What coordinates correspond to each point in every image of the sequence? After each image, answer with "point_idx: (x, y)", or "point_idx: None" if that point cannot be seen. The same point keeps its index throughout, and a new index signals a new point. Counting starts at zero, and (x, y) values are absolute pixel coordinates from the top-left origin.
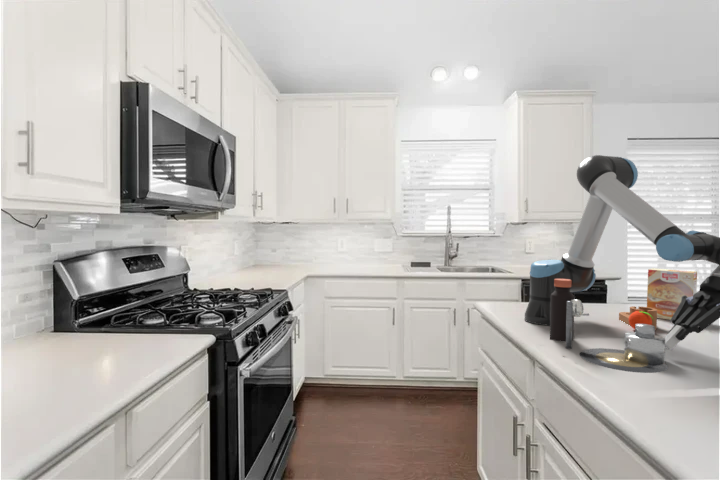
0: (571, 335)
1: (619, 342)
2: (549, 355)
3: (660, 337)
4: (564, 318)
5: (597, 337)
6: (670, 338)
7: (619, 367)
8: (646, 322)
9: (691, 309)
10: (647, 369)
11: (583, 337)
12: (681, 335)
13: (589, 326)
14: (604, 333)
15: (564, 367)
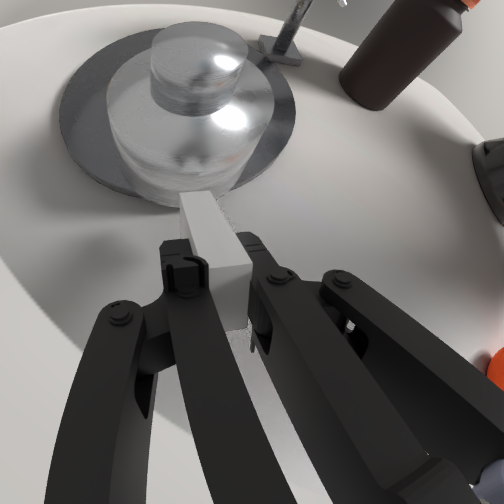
0: (288, 18)
1: (407, 241)
2: (248, 20)
3: (171, 141)
4: (374, 29)
5: (434, 210)
6: (183, 210)
7: (116, 55)
8: (501, 379)
9: (364, 454)
10: (83, 100)
11: (423, 171)
12: (161, 257)
13: (496, 258)
14: (466, 257)
15: (168, 10)
